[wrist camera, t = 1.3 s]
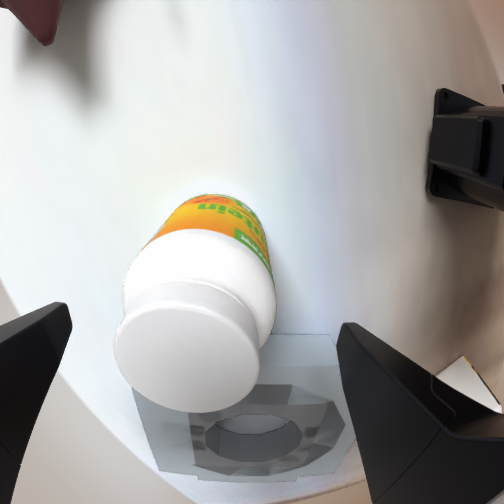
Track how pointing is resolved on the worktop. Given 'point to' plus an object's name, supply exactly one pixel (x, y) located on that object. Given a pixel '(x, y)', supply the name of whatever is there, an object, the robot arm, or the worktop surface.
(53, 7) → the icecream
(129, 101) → the worktop surface
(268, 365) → the socket block
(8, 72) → the worktop surface
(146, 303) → the supplement bottle
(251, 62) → the worktop surface
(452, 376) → the medicine bottle
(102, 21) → the worktop surface
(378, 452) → the robot arm
